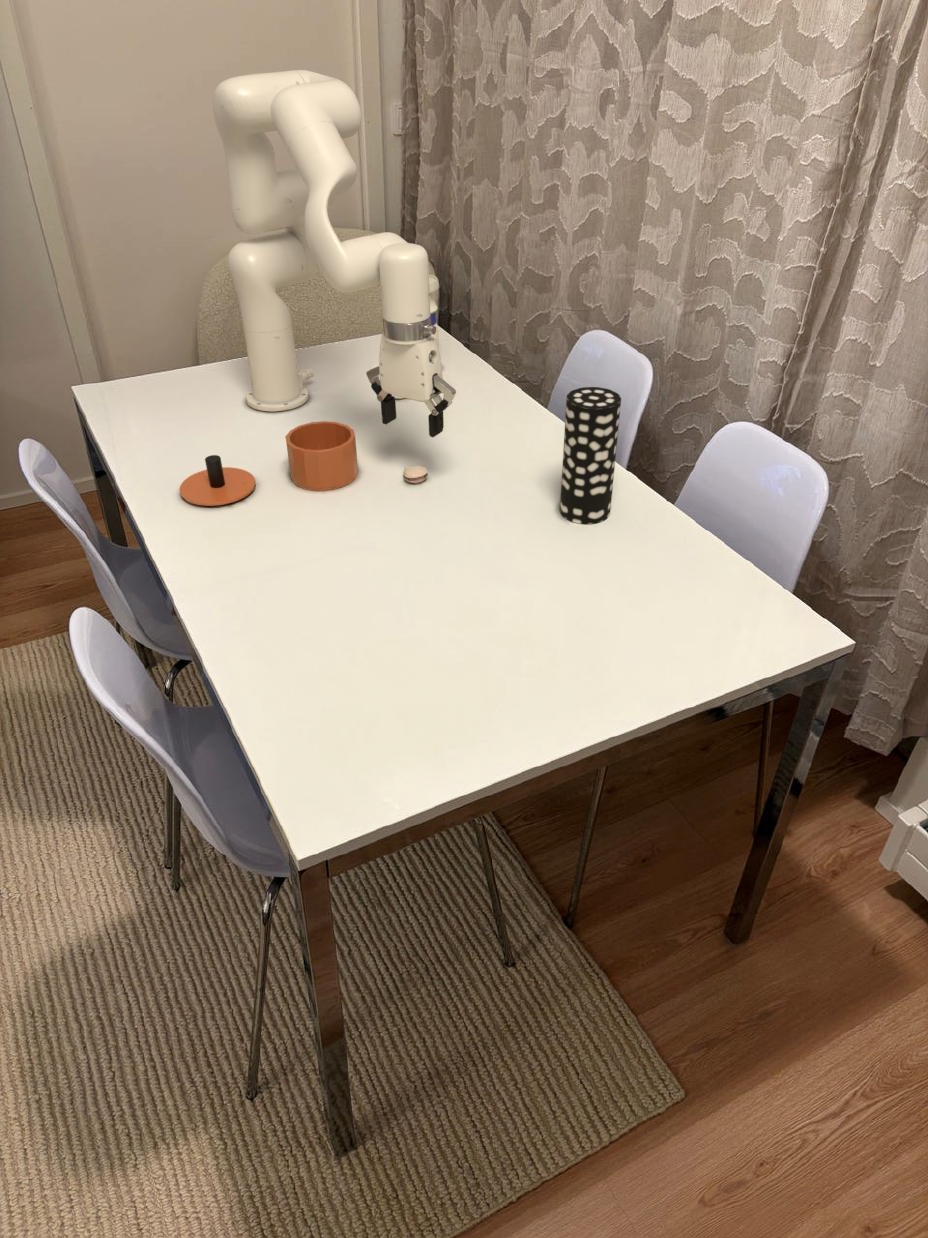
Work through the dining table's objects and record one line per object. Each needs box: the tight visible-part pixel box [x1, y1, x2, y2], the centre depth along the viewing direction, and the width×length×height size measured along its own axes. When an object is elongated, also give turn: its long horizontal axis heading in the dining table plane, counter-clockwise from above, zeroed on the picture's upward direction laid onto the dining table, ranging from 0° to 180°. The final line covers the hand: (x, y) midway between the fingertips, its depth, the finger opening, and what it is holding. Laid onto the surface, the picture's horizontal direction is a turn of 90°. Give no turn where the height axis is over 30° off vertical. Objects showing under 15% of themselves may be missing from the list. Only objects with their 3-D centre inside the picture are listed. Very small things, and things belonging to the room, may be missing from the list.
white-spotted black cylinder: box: [559, 386, 622, 525], centre depth 149 cm, size 8×8×20 cm
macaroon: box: [402, 465, 429, 484], centre depth 164 cm, size 4×5×2 cm
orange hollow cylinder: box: [285, 420, 359, 492], centre depth 164 cm, size 12×12×8 cm
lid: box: [179, 454, 257, 507], centre depth 160 cm, size 13×13×6 cm
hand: (412, 427), depth 158 cm, fingers open, 9 cm apart
